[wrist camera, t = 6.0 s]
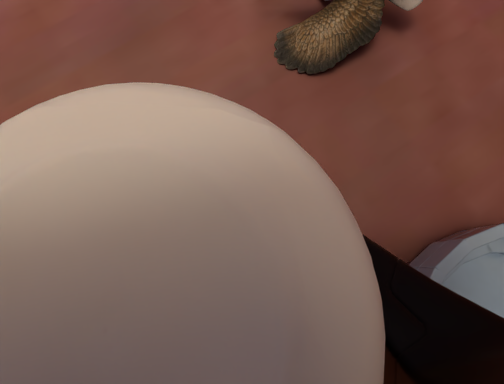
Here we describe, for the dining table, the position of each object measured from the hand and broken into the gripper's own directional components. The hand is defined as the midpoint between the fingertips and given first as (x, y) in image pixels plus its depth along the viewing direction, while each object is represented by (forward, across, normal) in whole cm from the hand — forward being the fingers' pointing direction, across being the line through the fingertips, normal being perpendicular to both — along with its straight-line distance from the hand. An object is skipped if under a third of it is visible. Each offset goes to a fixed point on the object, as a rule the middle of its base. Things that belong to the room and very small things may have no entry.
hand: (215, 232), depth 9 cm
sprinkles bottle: (+4, 0, +6) cm, 7 cm away
